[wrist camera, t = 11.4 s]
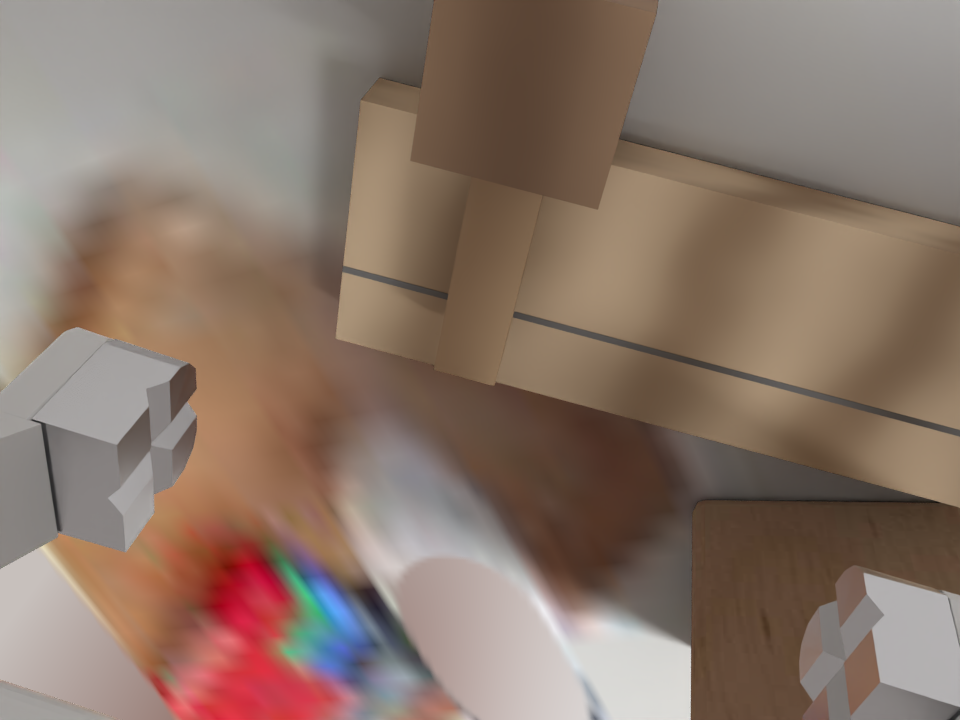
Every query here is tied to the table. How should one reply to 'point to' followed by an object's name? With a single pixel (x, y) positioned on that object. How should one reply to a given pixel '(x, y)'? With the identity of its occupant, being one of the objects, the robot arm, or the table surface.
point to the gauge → (519, 139)
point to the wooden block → (793, 588)
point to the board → (687, 303)
